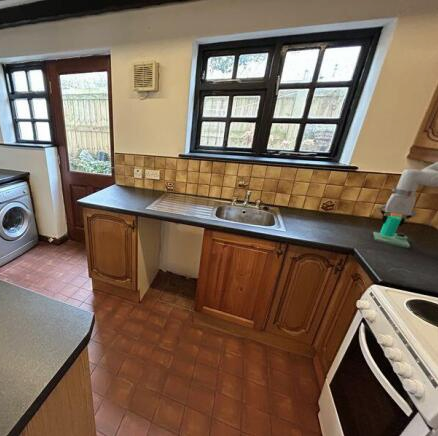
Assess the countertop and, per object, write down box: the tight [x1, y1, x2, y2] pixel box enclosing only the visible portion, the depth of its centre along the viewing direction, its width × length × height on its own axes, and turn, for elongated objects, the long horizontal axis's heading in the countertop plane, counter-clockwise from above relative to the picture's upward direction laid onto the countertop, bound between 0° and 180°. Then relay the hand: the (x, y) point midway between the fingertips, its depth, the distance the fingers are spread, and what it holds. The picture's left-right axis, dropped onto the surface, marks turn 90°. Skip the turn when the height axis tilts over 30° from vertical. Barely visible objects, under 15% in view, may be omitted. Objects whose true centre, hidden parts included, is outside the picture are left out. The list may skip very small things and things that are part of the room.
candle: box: [379, 215, 402, 237], centre depth 135 cm, size 6×6×12 cm
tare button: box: [396, 232, 406, 237], centre depth 138 cm, size 3×3×2 cm
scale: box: [372, 231, 411, 249], centre depth 138 cm, size 14×12×3 cm
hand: (391, 223), depth 135 cm, fingers closed on candle, 6 cm apart
